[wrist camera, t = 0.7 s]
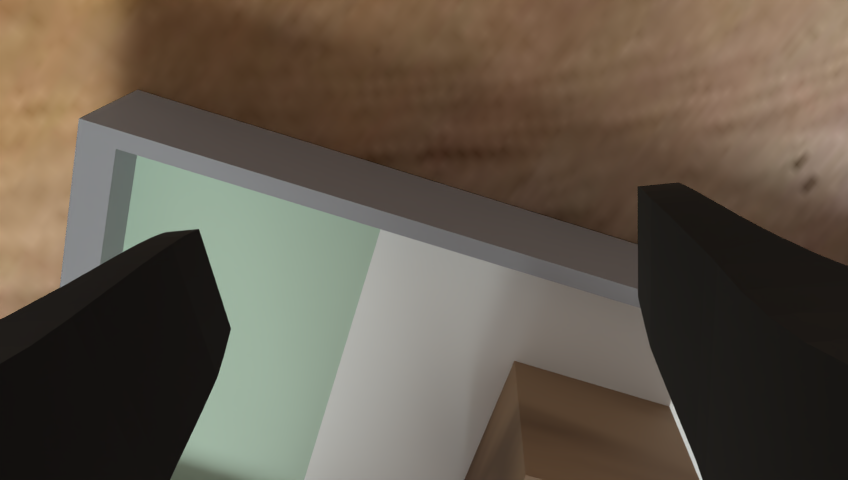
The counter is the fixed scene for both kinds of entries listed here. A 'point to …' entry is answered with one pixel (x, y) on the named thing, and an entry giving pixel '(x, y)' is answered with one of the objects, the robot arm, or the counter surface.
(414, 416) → the box
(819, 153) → the counter surface
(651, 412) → the walnut block
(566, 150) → the counter surface
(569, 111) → the counter surface
